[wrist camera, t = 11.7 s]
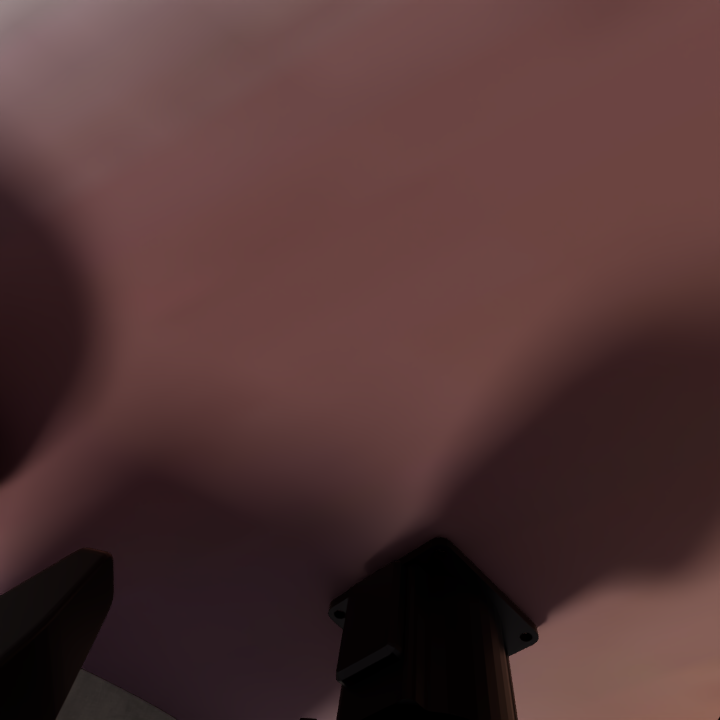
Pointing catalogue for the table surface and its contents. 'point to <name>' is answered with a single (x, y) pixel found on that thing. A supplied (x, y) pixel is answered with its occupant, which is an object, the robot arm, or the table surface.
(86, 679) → the hip flask
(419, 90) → the table surface
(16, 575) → the table surface
